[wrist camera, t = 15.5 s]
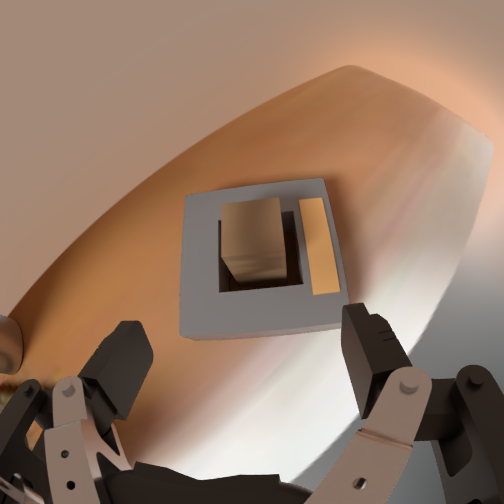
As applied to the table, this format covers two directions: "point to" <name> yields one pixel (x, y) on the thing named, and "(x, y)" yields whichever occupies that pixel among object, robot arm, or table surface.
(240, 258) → the walnut peg
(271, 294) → the socket block
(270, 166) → the table surface
